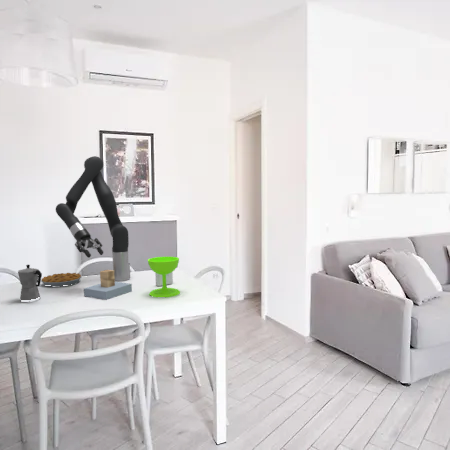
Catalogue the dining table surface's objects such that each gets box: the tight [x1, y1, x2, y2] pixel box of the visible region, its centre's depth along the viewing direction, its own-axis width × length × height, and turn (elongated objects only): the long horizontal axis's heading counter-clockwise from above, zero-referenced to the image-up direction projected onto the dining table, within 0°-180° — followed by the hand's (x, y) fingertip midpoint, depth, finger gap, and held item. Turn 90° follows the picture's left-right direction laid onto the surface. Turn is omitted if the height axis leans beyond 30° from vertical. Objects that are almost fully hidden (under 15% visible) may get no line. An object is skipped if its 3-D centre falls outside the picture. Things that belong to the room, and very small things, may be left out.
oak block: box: [99, 269, 116, 288], centre depth 205 cm, size 5×5×8 cm
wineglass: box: [147, 256, 181, 298], centre depth 203 cm, size 16×16×18 cm
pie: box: [40, 272, 82, 286], centre depth 231 cm, size 22×22×5 cm
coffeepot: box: [17, 264, 43, 300], centre depth 195 cm, size 15×9×18 cm, turn 66°
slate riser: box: [83, 281, 133, 300], centre depth 206 cm, size 18×16×4 cm
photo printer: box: [154, 272, 174, 287], centre depth 222 cm, size 10×4×12 cm, turn 134°
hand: (96, 255), depth 208 cm, fingers open, 8 cm apart
